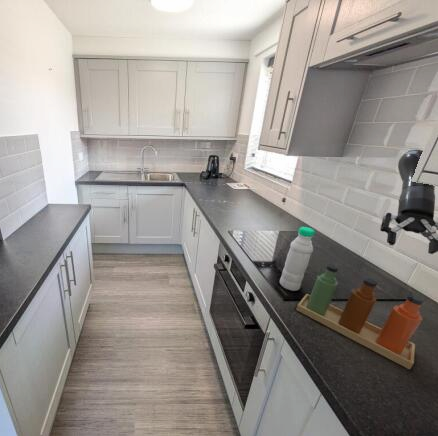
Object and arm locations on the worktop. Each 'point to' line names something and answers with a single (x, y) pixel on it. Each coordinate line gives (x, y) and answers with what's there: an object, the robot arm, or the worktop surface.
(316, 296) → the sage bottle
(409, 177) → the robot arm
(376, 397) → the worktop surface
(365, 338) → the tray
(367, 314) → the amber bottle
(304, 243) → the water bottle
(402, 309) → the terracotta bottle
